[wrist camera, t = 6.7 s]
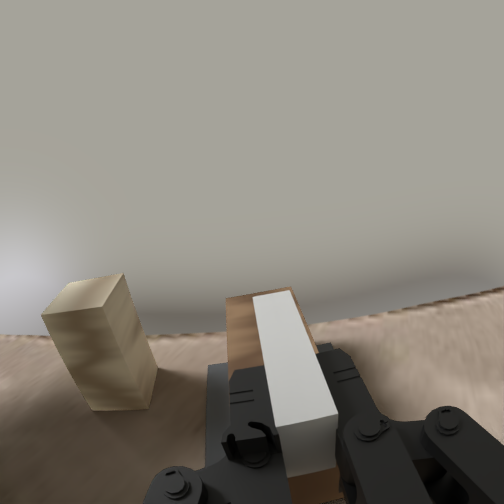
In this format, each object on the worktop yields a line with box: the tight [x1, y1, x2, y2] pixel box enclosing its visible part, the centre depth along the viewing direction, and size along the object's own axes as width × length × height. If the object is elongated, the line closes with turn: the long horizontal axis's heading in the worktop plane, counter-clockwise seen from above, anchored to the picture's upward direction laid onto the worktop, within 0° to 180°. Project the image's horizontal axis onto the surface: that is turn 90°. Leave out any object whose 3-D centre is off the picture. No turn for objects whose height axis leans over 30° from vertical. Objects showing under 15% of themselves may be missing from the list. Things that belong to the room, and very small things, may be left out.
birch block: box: [41, 273, 158, 411], centre depth 22 cm, size 5×5×9 cm
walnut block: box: [226, 287, 344, 504], centre depth 19 cm, size 5×5×15 cm
